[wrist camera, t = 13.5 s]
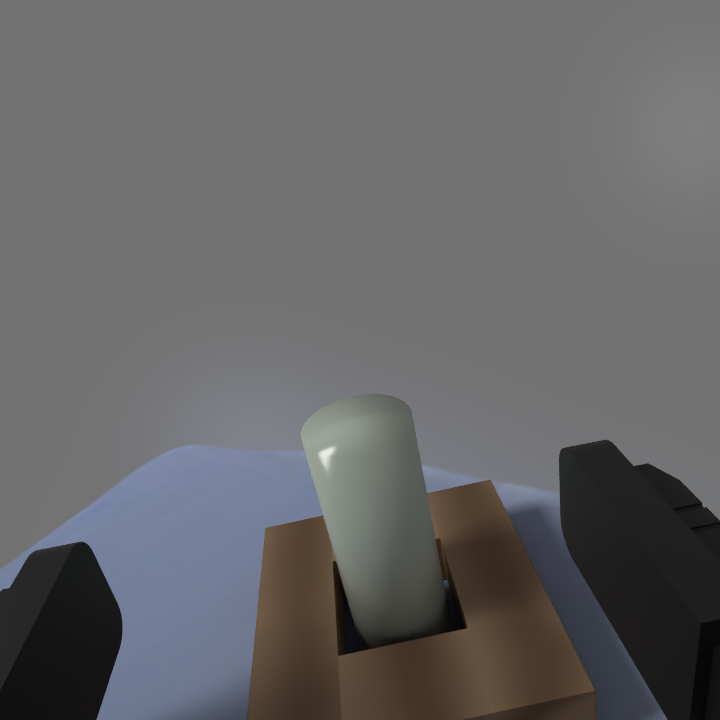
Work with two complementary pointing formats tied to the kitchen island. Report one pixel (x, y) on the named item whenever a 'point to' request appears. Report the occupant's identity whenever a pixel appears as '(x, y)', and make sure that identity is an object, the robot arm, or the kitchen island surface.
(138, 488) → the kitchen island surface
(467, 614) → the walnut block
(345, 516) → the pale green cylinder
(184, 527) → the kitchen island surface
